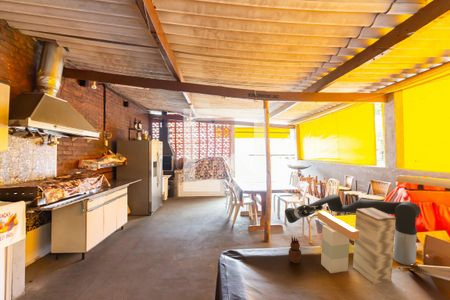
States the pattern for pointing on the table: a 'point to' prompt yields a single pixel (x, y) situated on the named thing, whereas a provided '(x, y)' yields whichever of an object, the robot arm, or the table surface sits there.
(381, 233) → the stand
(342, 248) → the tower
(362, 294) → the table surface
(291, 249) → the wooden figurine
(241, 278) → the table surface
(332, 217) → the beam
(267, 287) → the table surface
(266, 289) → the table surface
